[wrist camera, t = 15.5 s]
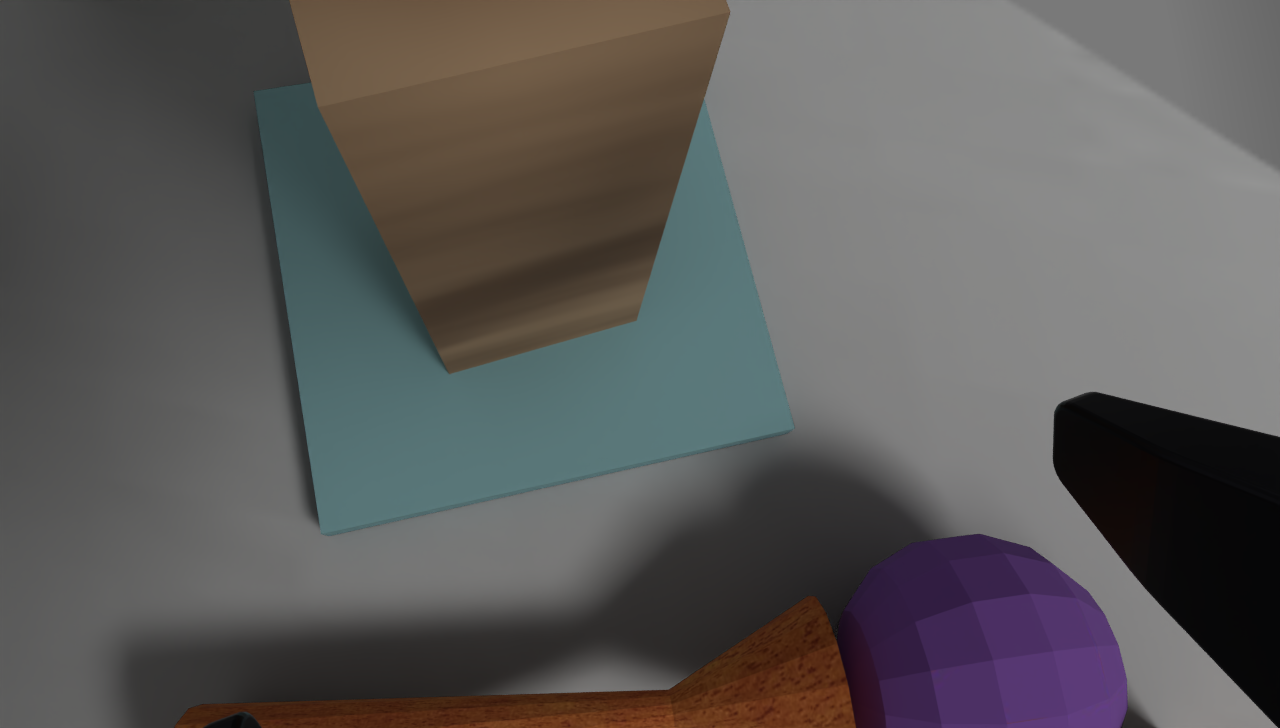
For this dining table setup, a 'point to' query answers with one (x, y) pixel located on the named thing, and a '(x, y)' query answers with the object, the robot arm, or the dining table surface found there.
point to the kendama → (837, 663)
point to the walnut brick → (514, 151)
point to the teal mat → (511, 387)
